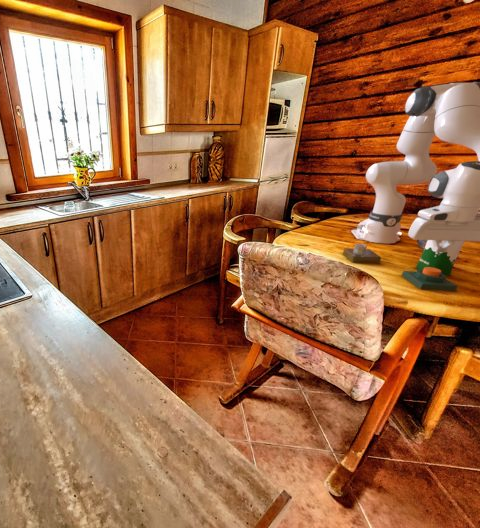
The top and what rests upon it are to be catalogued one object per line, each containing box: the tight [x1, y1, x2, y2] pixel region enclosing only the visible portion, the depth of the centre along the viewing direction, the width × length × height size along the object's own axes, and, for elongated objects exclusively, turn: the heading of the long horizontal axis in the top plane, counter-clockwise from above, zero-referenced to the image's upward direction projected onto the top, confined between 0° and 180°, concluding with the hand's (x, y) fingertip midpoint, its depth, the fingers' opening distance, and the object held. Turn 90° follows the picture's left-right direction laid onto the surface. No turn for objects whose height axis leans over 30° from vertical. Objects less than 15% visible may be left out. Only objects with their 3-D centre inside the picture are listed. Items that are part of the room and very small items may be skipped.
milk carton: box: [415, 240, 466, 277], centre depth 106 cm, size 9×9×20 cm
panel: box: [342, 247, 382, 264], centre depth 125 cm, size 11×11×3 cm
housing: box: [401, 269, 458, 292], centre depth 102 cm, size 11×10×4 cm
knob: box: [353, 243, 368, 255], centre depth 122 cm, size 4×4×4 cm
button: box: [422, 267, 441, 277], centre depth 101 cm, size 4×4×2 cm
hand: (439, 251), depth 98 cm, fingers closed
